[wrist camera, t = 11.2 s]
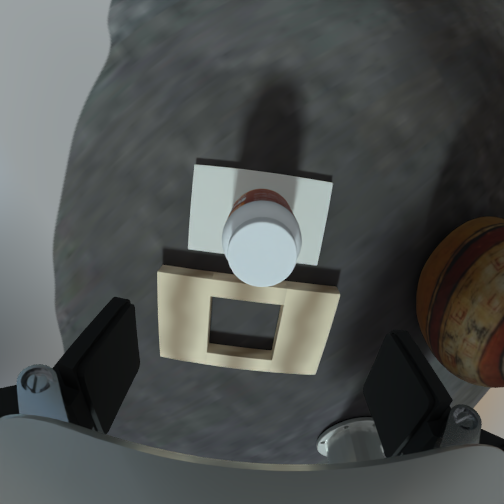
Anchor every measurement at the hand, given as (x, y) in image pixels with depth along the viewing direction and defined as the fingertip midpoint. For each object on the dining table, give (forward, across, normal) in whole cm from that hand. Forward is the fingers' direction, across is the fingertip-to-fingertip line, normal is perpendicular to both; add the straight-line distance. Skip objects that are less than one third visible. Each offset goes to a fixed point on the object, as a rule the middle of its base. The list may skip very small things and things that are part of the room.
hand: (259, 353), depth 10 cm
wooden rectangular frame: (+22, 0, +13) cm, 25 cm away
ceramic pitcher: (+22, -29, +4) cm, 36 cm away
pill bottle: (+21, 0, 0) cm, 21 cm away
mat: (+22, 0, 0) cm, 22 cm away
